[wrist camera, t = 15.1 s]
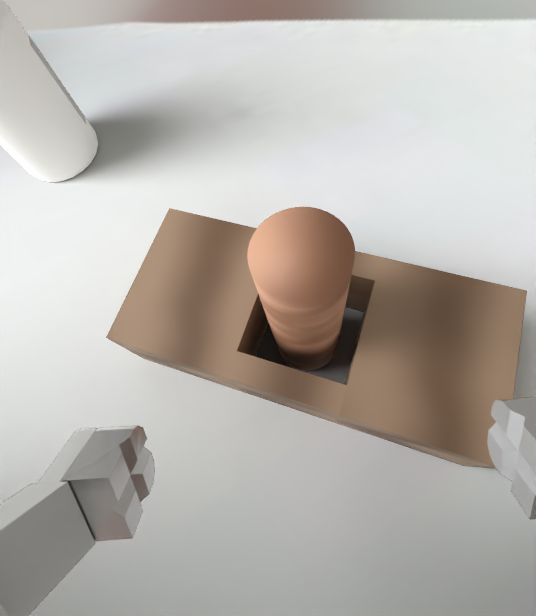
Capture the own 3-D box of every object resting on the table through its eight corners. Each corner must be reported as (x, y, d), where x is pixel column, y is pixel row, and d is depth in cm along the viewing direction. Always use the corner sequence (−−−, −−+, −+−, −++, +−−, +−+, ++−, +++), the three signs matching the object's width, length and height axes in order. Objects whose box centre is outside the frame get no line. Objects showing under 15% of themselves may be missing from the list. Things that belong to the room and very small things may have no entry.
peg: (269, 360, 25) (232, 285, 14) (288, 306, 26) (267, 197, 15) (328, 378, 24) (338, 314, 13) (344, 321, 25) (366, 218, 14)
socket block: (143, 358, 26) (106, 337, 22) (193, 247, 29) (169, 208, 24) (463, 465, 22) (504, 468, 17) (486, 321, 24) (526, 290, 20)
